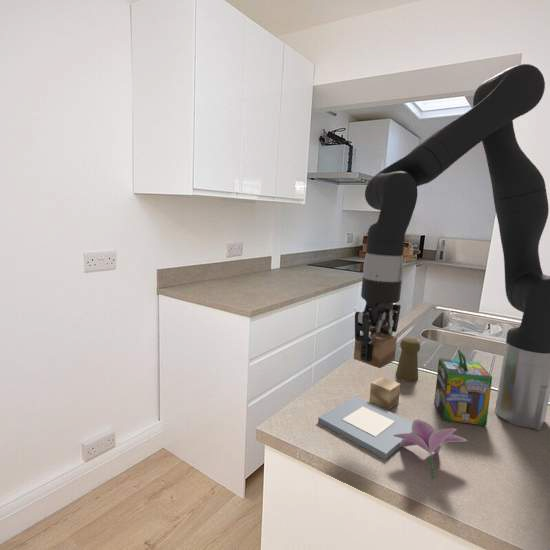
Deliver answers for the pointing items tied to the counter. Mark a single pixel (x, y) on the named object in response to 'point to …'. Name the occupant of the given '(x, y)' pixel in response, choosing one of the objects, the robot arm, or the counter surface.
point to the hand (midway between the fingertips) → (374, 356)
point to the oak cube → (384, 393)
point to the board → (367, 425)
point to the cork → (408, 360)
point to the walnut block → (379, 350)
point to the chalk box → (462, 391)
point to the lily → (428, 438)
